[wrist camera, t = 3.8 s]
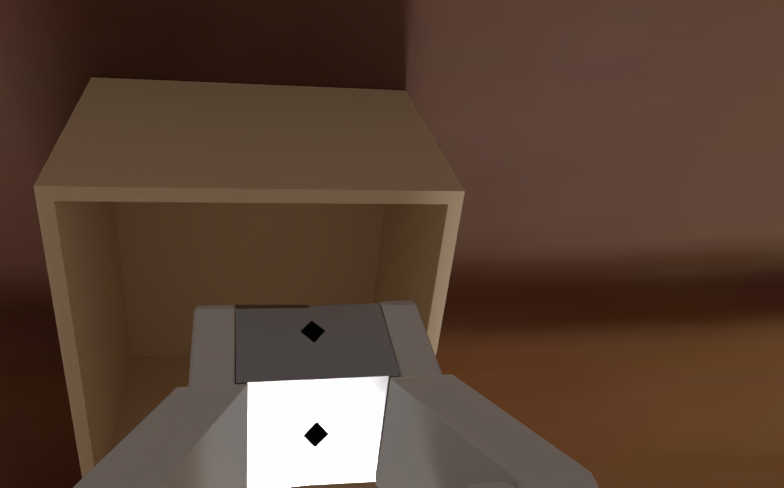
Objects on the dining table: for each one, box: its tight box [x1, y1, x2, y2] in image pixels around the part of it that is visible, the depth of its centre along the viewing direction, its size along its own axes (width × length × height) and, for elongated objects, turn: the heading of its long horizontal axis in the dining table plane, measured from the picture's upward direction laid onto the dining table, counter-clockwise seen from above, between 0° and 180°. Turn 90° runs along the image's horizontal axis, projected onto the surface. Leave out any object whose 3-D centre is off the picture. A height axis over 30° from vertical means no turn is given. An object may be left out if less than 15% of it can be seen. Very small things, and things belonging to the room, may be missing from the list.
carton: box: [34, 77, 465, 488], centre depth 37 cm, size 18×16×12 cm
